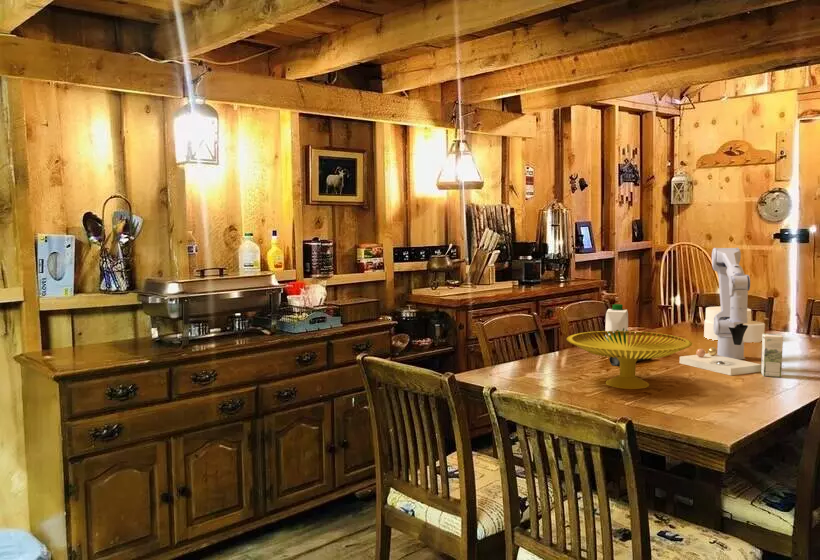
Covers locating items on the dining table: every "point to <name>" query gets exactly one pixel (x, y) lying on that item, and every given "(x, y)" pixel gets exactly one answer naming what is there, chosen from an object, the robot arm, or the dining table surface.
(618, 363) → the flashlight
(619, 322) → the milk carton
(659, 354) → the cake stand
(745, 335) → the container
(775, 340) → the syrup box
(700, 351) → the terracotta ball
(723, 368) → the hole plate
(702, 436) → the dining table surface
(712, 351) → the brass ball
